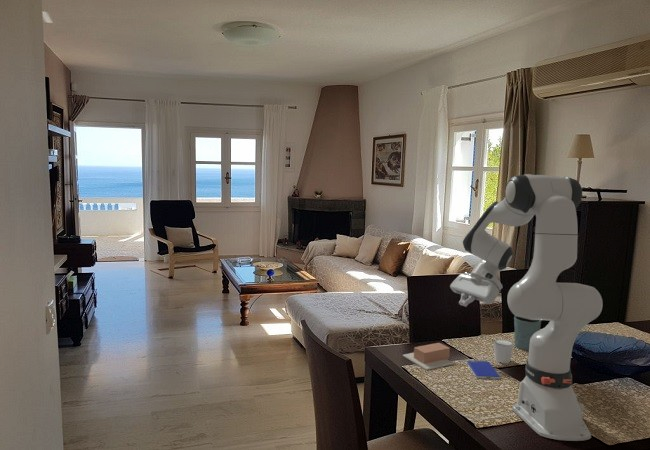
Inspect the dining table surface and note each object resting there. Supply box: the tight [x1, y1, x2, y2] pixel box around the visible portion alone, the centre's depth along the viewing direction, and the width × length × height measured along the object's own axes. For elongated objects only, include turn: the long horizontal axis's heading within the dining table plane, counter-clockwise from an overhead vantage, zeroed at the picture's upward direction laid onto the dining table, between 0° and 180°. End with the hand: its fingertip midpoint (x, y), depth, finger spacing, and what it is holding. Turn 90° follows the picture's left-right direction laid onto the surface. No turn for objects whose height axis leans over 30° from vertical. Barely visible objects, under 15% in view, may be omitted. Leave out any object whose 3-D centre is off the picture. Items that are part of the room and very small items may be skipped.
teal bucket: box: [513, 315, 542, 352], centre depth 192 cm, size 10×10×12 cm
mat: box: [402, 352, 456, 371], centre depth 177 cm, size 14×13×1 cm
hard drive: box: [466, 360, 501, 380], centre depth 168 cm, size 2×8×12 cm
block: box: [413, 342, 451, 364], centre depth 177 cm, size 6×4×12 cm
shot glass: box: [493, 339, 515, 364], centre depth 178 cm, size 7×7×7 cm
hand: (462, 305), depth 181 cm, fingers closed
